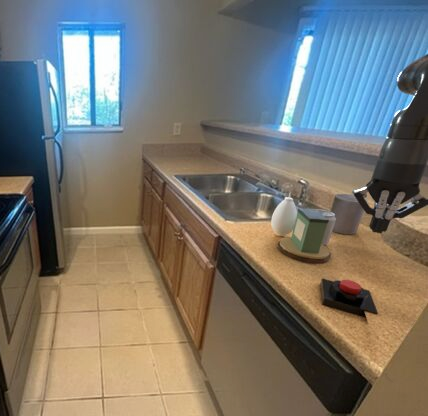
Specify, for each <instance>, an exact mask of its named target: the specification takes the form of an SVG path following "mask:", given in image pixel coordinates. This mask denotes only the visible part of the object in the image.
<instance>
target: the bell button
mask: <svg viewBox="0 0 428 416" xmlns="http://www.w3.org/2000/svg"><path fill="white" fill-rule="evenodd" d="M340 281H341V282H340V285H339V288H340V289H341V290H343V291H345V292H347V293H351V294H359V293H360V290H361V287H362V286H361V284H360V283H358V282H356V281H353V280H351V279H341V280H340Z"/></svg>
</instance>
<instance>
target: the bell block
mask: <svg viewBox="0 0 428 416" xmlns="http://www.w3.org/2000/svg"><path fill="white" fill-rule="evenodd" d="M340 282H341V280H338V279H337V280H329V279H326V278H321V280H320V283H319V288H320V297H321V305H322V306H323V307H327V308H330V309H334V310H337V311H340V312H344V313H348V314H350V315H355V316H357V317H360V318H365V319H367V315H366V312H367V313H369V314H373V315H378V314H379V313H378V311H377V308H376V305H375V302H374V299H373V296H372V294H371V291H370V290H369V289H366V288H363V287H362V286H361V290H360V293H359V294H351V293H347V292H345V291H343V290H341V289H340V288H339V285H340Z"/></svg>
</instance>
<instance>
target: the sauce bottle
mask: <svg viewBox="0 0 428 416" xmlns="http://www.w3.org/2000/svg"><path fill="white" fill-rule="evenodd" d="M291 195H292V191H291V190H290V191H289V194H288V197H287V196H286V197H284V200H283V199H282V201H280V202H279V203H278V204H277V206H276V208H275V209H274V211H273V213H272V216H271V219H270V225H271V229H272V231H273V232H274V233H275V235H276V236H278V237H287V235H288V236H289V235H290V234H292V233H293V229H294V225H295V221H296V217H297V213H298V209H297V206H296V203H295V202H294V198H292V197H291Z"/></svg>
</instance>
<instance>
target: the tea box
mask: <svg viewBox="0 0 428 416" xmlns="http://www.w3.org/2000/svg"><path fill="white" fill-rule="evenodd" d="M317 210H318V209H316V208H315V209H314V208H299V207H298V208H297V217H296V221H295V225H294V229H293V231H292V232H291V236H284V237H282V238H281V239H279V241H280V246H281V247H282V248H283V249H284V250H286V251H288V252H290V253H292V254H295V255H298V256H301V257H305V258H311V259H323V258H326V257H328V256H329V254H331V252H330V249H329V248H328V247H327V246H326V245H322V244H321V243H322V240H323V237H324V233H325V230H326V227H327V224H328V222H329V220H328V219H327V218H326V217H325V216H323V215H322V214H321V213H319V212H318V211H317Z"/></svg>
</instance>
